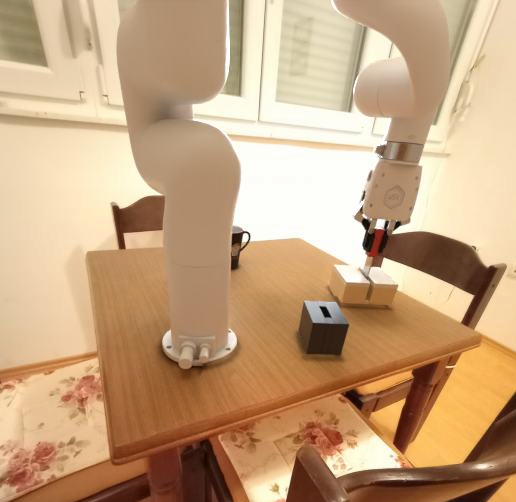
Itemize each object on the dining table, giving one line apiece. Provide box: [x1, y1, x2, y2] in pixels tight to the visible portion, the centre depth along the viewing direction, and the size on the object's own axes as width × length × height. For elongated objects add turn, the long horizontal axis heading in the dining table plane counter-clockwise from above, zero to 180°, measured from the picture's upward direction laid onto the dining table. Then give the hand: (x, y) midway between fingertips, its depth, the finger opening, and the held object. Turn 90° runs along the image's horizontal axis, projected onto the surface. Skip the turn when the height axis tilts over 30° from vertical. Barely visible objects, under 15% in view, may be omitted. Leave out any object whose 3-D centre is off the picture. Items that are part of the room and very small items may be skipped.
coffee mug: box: [231, 224, 252, 271], centre depth 85 cm, size 12×9×10 cm
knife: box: [362, 226, 385, 279], centre depth 71 cm, size 3×2×15 cm, turn 3°
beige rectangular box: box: [328, 264, 399, 309], centre depth 75 cm, size 11×12×6 cm
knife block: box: [298, 300, 350, 356], centre depth 55 cm, size 8×6×7 cm
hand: (372, 250), depth 69 cm, fingers closed on knife, 2 cm apart
